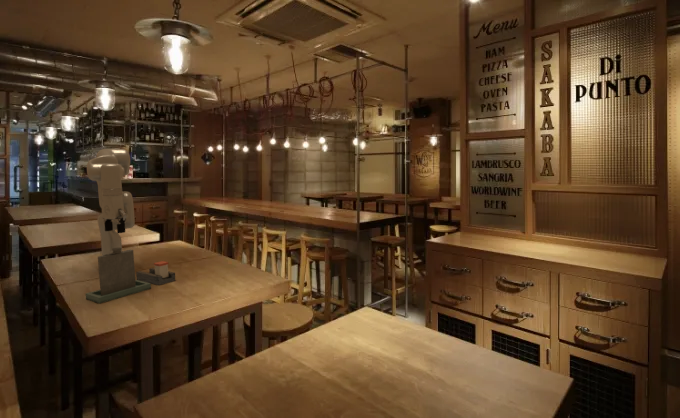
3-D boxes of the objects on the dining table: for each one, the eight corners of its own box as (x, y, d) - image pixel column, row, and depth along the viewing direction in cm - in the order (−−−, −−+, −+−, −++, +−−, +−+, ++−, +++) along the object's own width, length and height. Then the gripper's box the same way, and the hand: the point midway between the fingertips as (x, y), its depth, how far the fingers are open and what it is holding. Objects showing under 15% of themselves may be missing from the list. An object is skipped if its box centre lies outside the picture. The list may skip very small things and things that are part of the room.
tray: (85, 299, 172) (85, 293, 171) (137, 285, 191) (136, 279, 191) (99, 303, 166) (99, 297, 166) (151, 288, 185) (150, 283, 185)
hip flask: (132, 286, 186) (129, 244, 184) (138, 287, 185) (135, 244, 182) (99, 296, 172) (95, 251, 170) (105, 298, 170) (101, 251, 168)
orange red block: (154, 277, 195) (153, 263, 194) (163, 275, 199) (162, 261, 198) (160, 278, 193) (159, 264, 192) (169, 276, 197) (168, 262, 196)
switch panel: (136, 279, 200) (136, 271, 199) (153, 275, 207) (152, 267, 207) (158, 285, 190) (158, 277, 190) (175, 280, 198) (174, 272, 198)
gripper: (92, 192, 175) (95, 231, 177) (114, 194, 166) (117, 235, 168) (110, 191, 181) (112, 228, 183) (132, 192, 172) (134, 232, 174)
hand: (115, 231), depth 175 cm, fingers open, 9 cm apart
